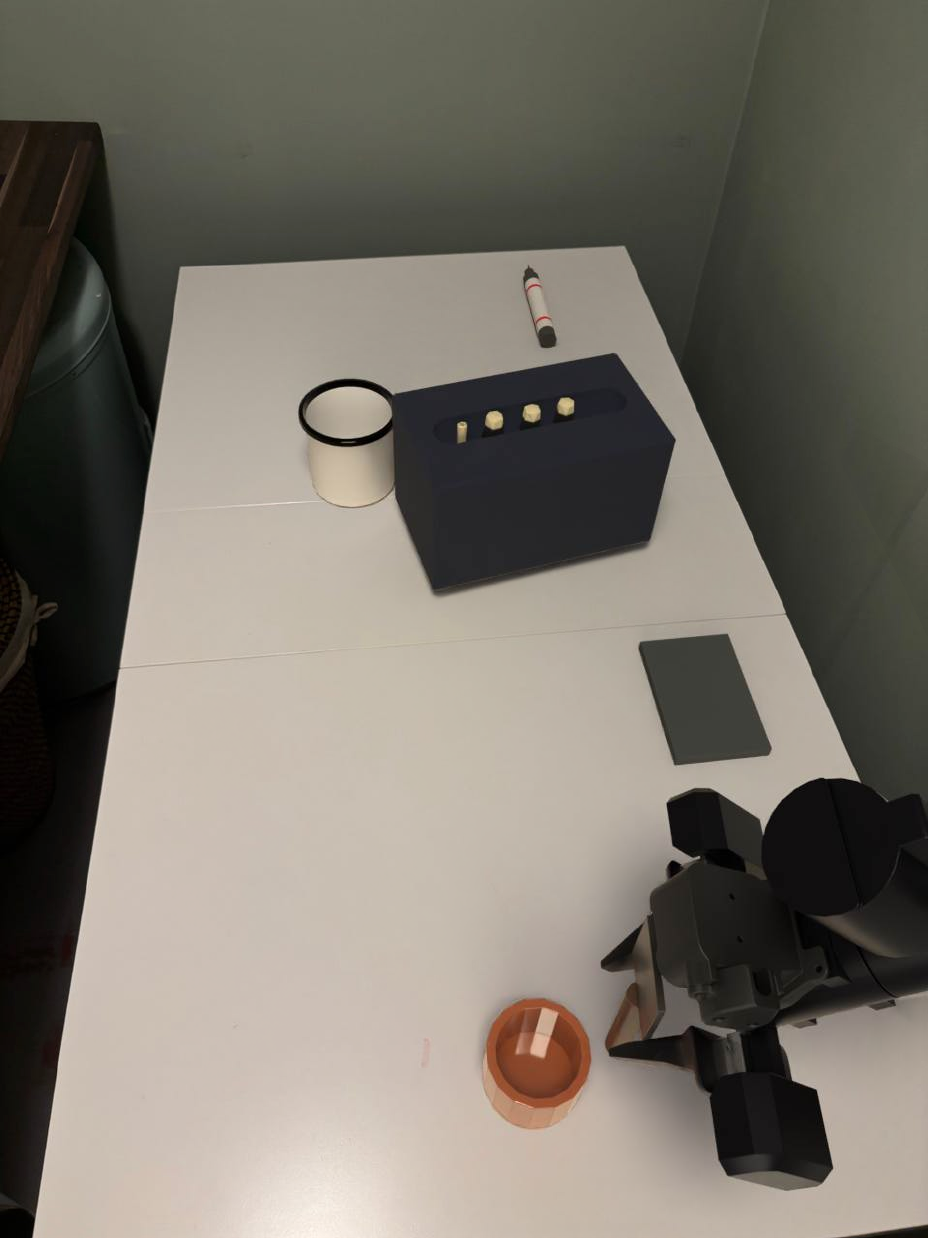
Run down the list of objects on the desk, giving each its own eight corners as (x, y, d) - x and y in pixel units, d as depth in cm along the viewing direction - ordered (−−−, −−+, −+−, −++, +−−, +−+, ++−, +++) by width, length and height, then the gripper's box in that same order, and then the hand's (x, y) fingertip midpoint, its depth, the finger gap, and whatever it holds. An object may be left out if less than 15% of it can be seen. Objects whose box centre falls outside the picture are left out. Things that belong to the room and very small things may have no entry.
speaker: (596, 465, 102) (617, 342, 91) (649, 552, 95) (679, 431, 83) (394, 508, 98) (390, 384, 86) (433, 603, 90) (434, 482, 78)
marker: (556, 347, 115) (557, 332, 113) (539, 348, 115) (540, 333, 113) (534, 273, 124) (536, 259, 123) (519, 274, 124) (520, 259, 123)
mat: (769, 755, 81) (772, 749, 80) (674, 765, 80) (676, 759, 79) (725, 640, 88) (727, 633, 88) (638, 648, 87) (640, 641, 87)
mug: (308, 516, 97) (299, 445, 90) (305, 451, 102) (296, 380, 95) (430, 507, 98) (430, 436, 91) (420, 443, 104) (420, 372, 97)
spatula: (625, 1004, 61) (665, 915, 50) (633, 1087, 58) (677, 1012, 47) (601, 1004, 61) (636, 914, 50) (608, 1087, 58) (646, 1011, 47)
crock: (599, 1071, 65) (611, 1047, 61) (539, 1153, 62) (547, 1133, 58) (524, 1005, 68) (530, 977, 63) (462, 1080, 65) (464, 1056, 60)
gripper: (747, 699, 48) (506, 807, 56) (841, 1125, 36) (518, 1182, 44) (855, 782, 54) (624, 868, 62) (966, 1168, 42) (662, 1210, 51)
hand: (608, 1009), depth 55 cm, fingers closed on spatula, 4 cm apart
